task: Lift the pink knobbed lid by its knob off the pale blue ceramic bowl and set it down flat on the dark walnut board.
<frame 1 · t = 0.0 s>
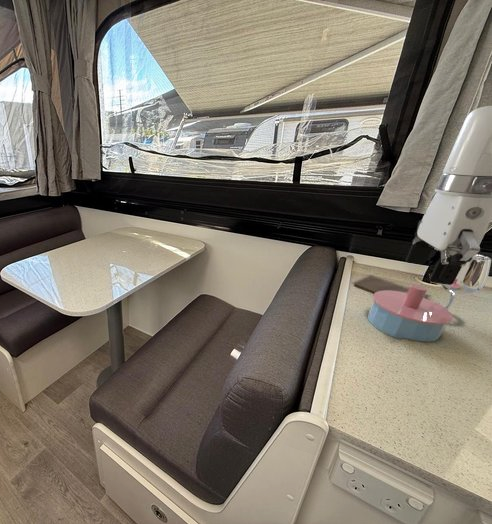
hand: (426, 272, 54), 23 cm above the kitchen counter, tool pointing down, fingers open, 9 cm apart
board: (388, 291, 93), on the kitchen counter
wineglass: (440, 320, 78), on the kitchen counter
bowl: (400, 326, 75), on the kitchen counter
pink knobbed lid: (409, 306, 73), point 6 cm above the kitchen counter, touching bowl
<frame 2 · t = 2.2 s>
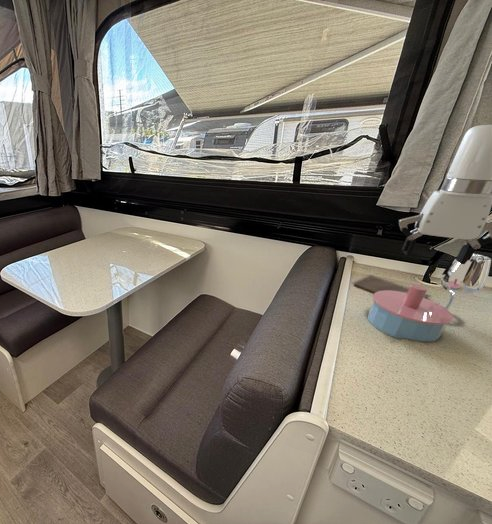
hand: (432, 257, 66), 21 cm above the kitchen counter, tool pointing down, fingers open, 9 cm apart
nothing on the kitchen counter moved.
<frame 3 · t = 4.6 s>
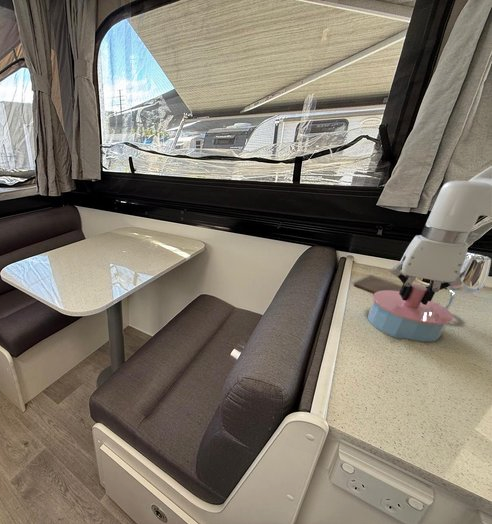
hand: (413, 299, 72), 9 cm above the kitchen counter, tool pointing down, fingers closed on pink knobbed lid, 3 cm apart
pink knobbed lid: (409, 306, 73), point 7 cm above the kitchen counter, touching bowl, gripper
everything else where it was.
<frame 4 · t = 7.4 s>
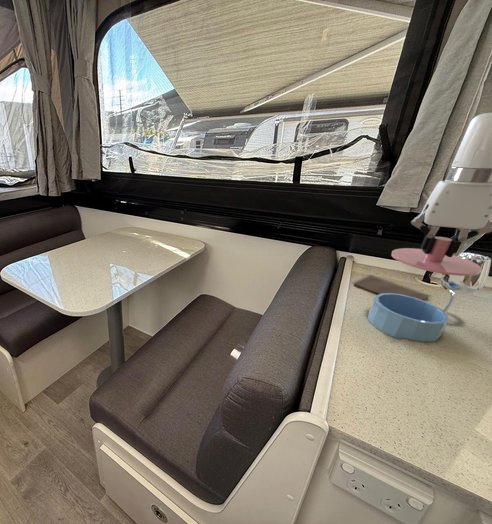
hand: (436, 253, 66), 22 cm above the kitchen counter, tool pointing down, fingers closed on pink knobbed lid, 3 cm apart
pink knobbed lid: (432, 261, 67), point 20 cm above the kitchen counter, touching gripper
everything else where it was.
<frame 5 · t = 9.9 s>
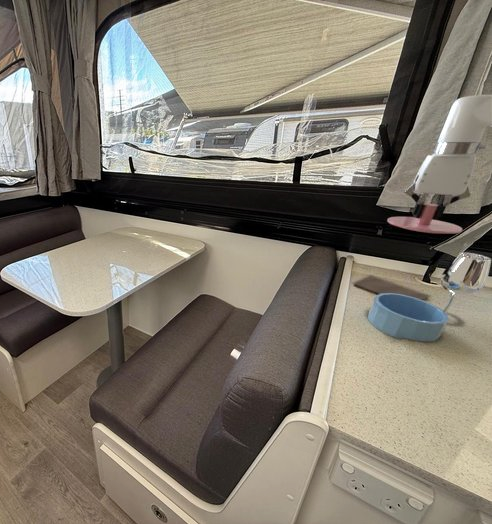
hand: (425, 217, 78), 27 cm above the kitchen counter, tool pointing down, fingers closed on pink knobbed lid, 3 cm apart
pink knobbed lid: (421, 225, 79), point 25 cm above the kitchen counter, touching gripper
everything else where it was.
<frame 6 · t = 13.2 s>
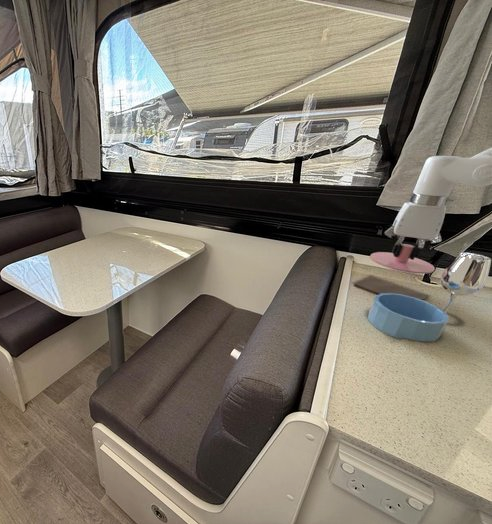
hand: (403, 256, 87), 13 cm above the kitchen counter, tool pointing down, fingers closed on pink knobbed lid, 3 cm apart
pink knobbed lid: (400, 262, 88), point 11 cm above the kitchen counter, touching gripper
everything else where it was.
when the fingers open (4 cm above the kitchen counter, at t = 15.6 s): pink knobbed lid stays where it is, resting on board.
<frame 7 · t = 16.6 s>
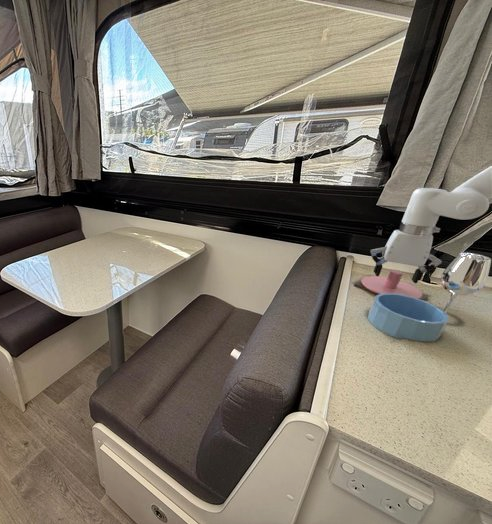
hand: (394, 278, 90), 5 cm above the kitchen counter, tool pointing down, fingers open, 9 cm apart
pink knobbed lid: (389, 288, 92), point 1 cm above the kitchen counter, touching board
everything else where it was.
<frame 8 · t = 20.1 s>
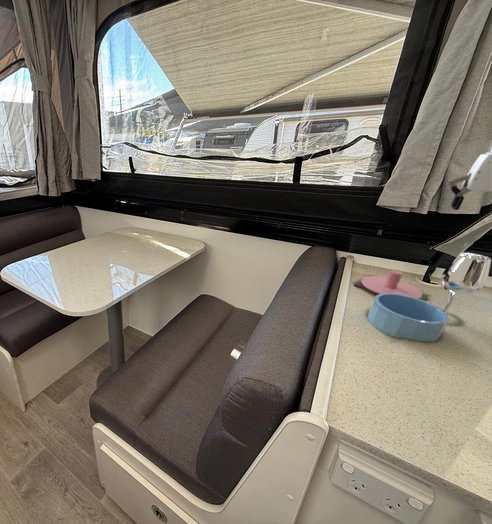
hand: (477, 210, 80), 28 cm above the kitchen counter, tool pointing down, fingers open, 9 cm apart
nothing on the kitchen counter moved.
at the end: pink knobbed lid inside the target area on the board (0.1 cm from its centre), point 1.4 cm above the board's base; pink knobbed lid tilted 0°; the gripper is holding nothing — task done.
